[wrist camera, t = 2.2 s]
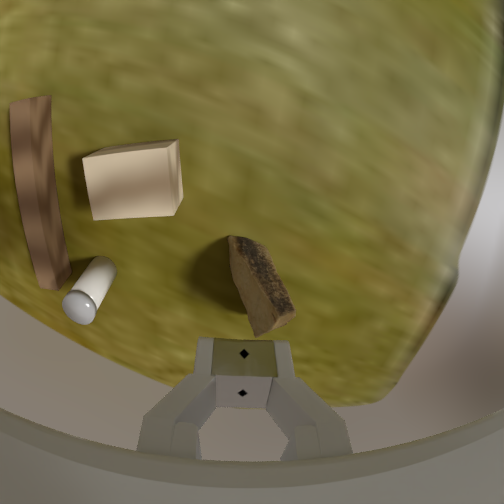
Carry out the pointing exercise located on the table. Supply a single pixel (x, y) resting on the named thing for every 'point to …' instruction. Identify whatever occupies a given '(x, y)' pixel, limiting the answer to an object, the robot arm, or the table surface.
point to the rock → (259, 285)
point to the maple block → (134, 180)
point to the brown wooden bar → (38, 189)
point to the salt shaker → (89, 290)
